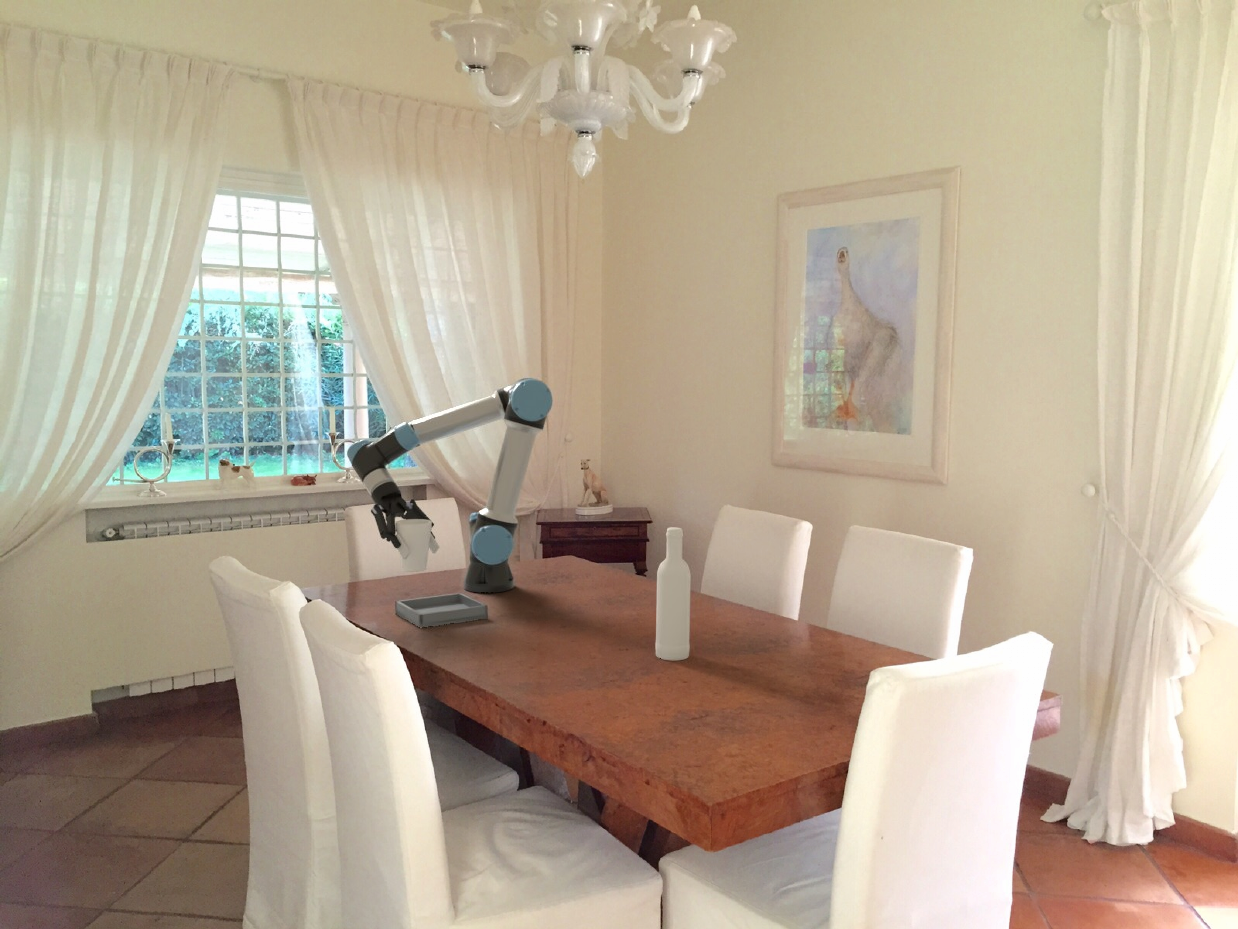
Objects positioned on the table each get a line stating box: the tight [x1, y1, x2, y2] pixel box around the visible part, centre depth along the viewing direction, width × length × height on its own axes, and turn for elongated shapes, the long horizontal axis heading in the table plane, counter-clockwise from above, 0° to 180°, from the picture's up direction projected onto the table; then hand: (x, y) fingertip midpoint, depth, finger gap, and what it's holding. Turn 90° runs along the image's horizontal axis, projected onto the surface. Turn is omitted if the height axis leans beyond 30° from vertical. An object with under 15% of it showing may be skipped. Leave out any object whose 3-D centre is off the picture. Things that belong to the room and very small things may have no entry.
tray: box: [394, 592, 489, 628], centre depth 255 cm, size 19×17×4 cm
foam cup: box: [395, 519, 433, 573], centre depth 257 cm, size 10×9×13 cm
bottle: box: [654, 526, 692, 662], centre depth 221 cm, size 8×8×30 cm
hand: (422, 553), depth 255 cm, fingers closed on foam cup, 9 cm apart
